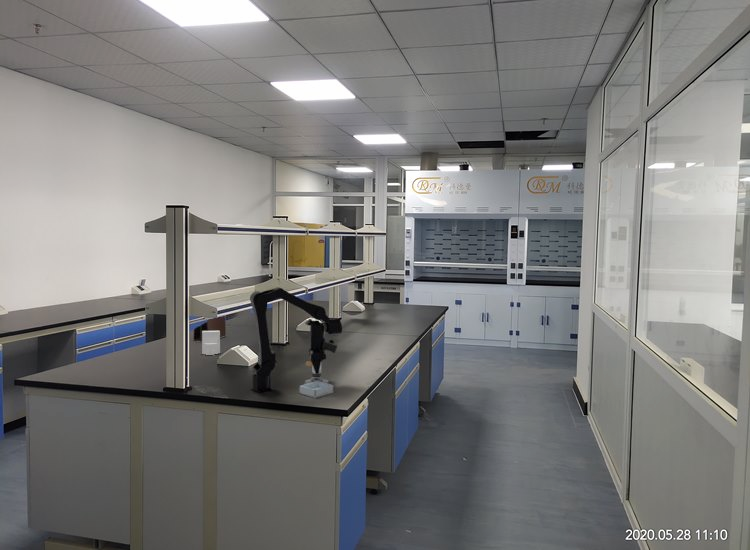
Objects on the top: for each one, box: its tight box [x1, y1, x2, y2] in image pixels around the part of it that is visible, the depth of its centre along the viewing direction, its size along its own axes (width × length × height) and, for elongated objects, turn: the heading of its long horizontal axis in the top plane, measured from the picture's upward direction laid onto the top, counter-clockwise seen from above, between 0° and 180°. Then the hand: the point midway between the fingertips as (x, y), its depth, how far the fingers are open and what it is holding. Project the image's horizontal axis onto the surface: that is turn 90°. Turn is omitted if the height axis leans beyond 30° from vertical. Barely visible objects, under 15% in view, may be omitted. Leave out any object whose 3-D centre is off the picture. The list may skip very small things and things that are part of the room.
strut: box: [305, 360, 322, 377], centre depth 221 cm, size 4×6×7 cm, turn 100°
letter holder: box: [193, 315, 227, 342], centre depth 317 cm, size 10×20×14 cm, turn 166°
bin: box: [298, 381, 334, 399], centre depth 209 cm, size 10×9×3 cm
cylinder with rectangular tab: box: [201, 331, 221, 356], centre depth 277 cm, size 9×9×12 cm
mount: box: [304, 376, 329, 385], centre depth 222 cm, size 7×7×2 cm
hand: (316, 371), depth 222 cm, fingers closed on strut, 4 cm apart
